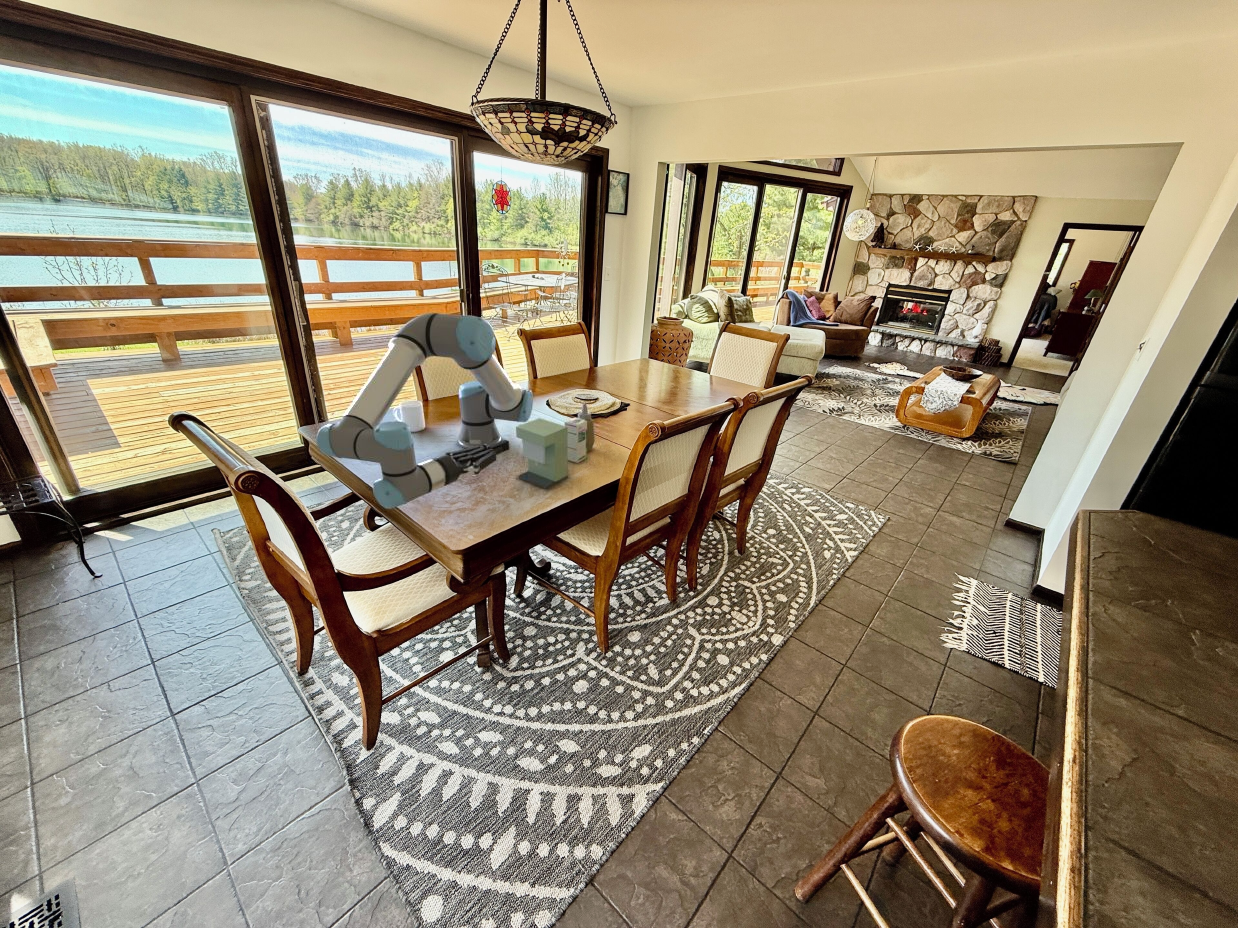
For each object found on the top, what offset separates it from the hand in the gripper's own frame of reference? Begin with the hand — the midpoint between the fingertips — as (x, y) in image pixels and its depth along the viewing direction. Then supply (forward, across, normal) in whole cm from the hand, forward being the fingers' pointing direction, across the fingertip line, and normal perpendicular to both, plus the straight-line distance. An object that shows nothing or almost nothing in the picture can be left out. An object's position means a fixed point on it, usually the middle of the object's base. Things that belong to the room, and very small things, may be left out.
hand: (507, 444), depth 139 cm
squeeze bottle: (+41, -4, -17) cm, 45 cm away
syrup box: (+33, -2, -17) cm, 37 cm away
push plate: (+11, 0, -9) cm, 14 cm away
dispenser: (+14, 0, -17) cm, 22 cm away
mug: (+13, -70, -17) cm, 73 cm away
